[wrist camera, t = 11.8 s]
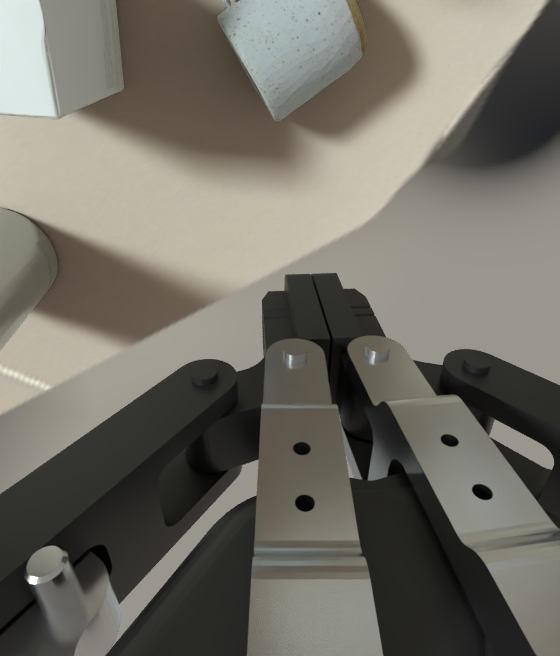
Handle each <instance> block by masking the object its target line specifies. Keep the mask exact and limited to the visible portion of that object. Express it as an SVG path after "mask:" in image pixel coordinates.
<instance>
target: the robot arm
mask: <svg viewBox="0 0 560 656" xmlns="http://www.w3.org/2000/svg"><path fill="white" fill-rule="evenodd" d="M57 269H58V263H57V257H56V253H55V251H54V248H53V246H52V244H51V242H50V241H49V239H48V238H47V236H46V235H45V234H44V233H43V232H42V231H41V229H40V228H39V227H38V226H36V225H35V224H34V223H33V222H31V221H30V220H29V219H27V218H25V217H23V216H22V215H20V214H18V213H16V212H13V211H10V210H7V209H3V208H0V351H1V349H2V348H3V347H4V346H5V344H6V343H7V342H8V341H9V339H10V338H11V337H12V335H13V334H14V333H15V332H16V330H17V329H18V328H19V327H20V325H21V324H22V323H23V322H24V320H25V319H26V318H27V316H28V315H29V314H30V313H31V311H32V310H33V309H34V308H35V306H36V305H37V304H38V303H39V301H40V300H41V299H42V297H43V296H44V295H45V294H46V292H47V291H48V290H49V288H50V287H51V286H52V284H53V283H54V281H55V278H56V275H57ZM262 319H263V320H262V324H263V351H264V358H263V359H262V360H261V361H260V362H259V363H258V364H256V365H255V366H253V367H251V368H249V369H246V370H242V371H238V372H236V371H235V369H234V368H233V367H232V366H231V365H230V364H228V363H226V362H223V361H220V360H215V359H204V360H197V361H193V362H190V363H188V364H186V365H184V366H182V367H181V368H180V369H178V370H177V371H175V372H174V373H173V374H171V375H170V376H168V377H167V378H165V379H164V380H162V381H161V382H160V383H158V384H157V385H155V386H154V387H152V388H151V389H150V390H148V391H147V392H145V393H144V394H142V395H141V396H140V397H138V398H137V399H135V400H134V401H133V402H131V403H130V404H128V405H127V406H125V407H124V408H123V409H121V410H120V411H118V412H117V413H115V414H114V415H113V416H111V417H110V418H108V419H107V420H106V421H104V422H103V423H101V424H100V425H98V426H97V427H96V428H94V429H93V430H91V431H90V432H89V433H87V434H86V435H84V436H83V437H81V438H80V439H78V440H77V441H76V442H74V443H73V444H71V445H70V446H68V447H67V448H66V449H64V450H63V451H61V452H60V453H59V454H57V455H56V456H54V457H53V458H51V459H50V460H49V461H47V462H46V463H44V464H43V465H41V466H40V467H38V468H37V469H36V470H34V471H33V472H31V473H30V474H29V475H27V476H26V477H24V478H23V479H22V480H20V481H19V482H17V483H16V484H14V485H13V486H11V487H10V488H9V489H7V490H6V491H4V492H3V493H1V494H0V656H560V385H558V384H555V383H553V382H551V381H549V380H546V379H544V378H542V377H539V376H537V375H535V374H533V373H531V372H528V371H526V370H524V369H522V368H519V367H517V366H515V365H513V364H510V363H508V362H506V361H503V360H501V359H499V358H497V357H494V356H492V355H490V354H487V353H484V352H481V351H476V350H470V349H460V350H455V351H452V352H450V353H448V354H447V355H446V356H445V358H444V362H443V365H437V364H431V363H424V362H419V361H415V360H412V359H411V357H410V355H409V354H408V353H407V351H406V350H405V348H404V347H403V346H402V345H401V344H400V343H398V342H396V341H394V340H392V339H389V338H386V336H385V334H384V332H383V330H382V328H381V327H380V324H379V322H378V320H377V318H376V316H374V312H373V310H372V308H370V304H369V302H368V300H367V299H366V297H365V296H364V295H363V294H361V293H360V292H358V291H357V290H356V289H343V287H342V285H341V282H340V280H339V278H338V275H337V273H326V274H325V273H322V274H311V275H310V274H291V275H285V291H273V292H270V291H269V292H268V293H267V294H266V296H265V297H264V298H263V300H262ZM339 415H340V417H339ZM340 419H341V421H340ZM495 419H496V420H498V421H500V422H501V423H503V424H505V425H507V426H509V427H511V428H513V429H515V430H517V431H519V432H520V433H522V434H524V435H526V436H528V437H530V438H532V439H533V440H535V441H537V442H539V443H541V444H542V445H544V446H545V447H547V449H548V450H549V451H550V452H551V454H552V455H553V458H554V467H553V469H552V470H550V469H546V468H544V467H542V466H540V465H538V464H536V463H535V462H533V461H531V460H529V459H528V458H526V457H524V456H522V455H520V454H519V453H517V452H515V451H513V450H511V449H510V448H508V447H506V446H504V445H503V444H501V443H499V442H497V441H496V440H494V439H492V438H490V437H489V435H490V432H491V429H492V426H493V422H494V420H495ZM346 457H347V460H348V462H349V465H350V468H351V471H352V474H353V477H354V478H349V473H348V467H347V461H346ZM258 459H259V463H258V482H257V496H254V497H252V498H250V499H247V500H246V501H244V502H242V503H240V504H238V505H237V506H235V507H234V508H233V509H231V510H230V511H229V512H227V513H226V514H225V515H224V516H223V517H222V518H221V519H219V520H218V521H217V522H216V523H215V524H214V525H213V526H212V528H211V529H210V530H209V531H208V532H207V534H206V535H205V536H204V537H203V538H202V540H201V541H200V542H199V543H198V544H197V546H196V547H195V548H194V549H193V551H192V552H191V553H190V554H189V555H188V556H187V558H186V559H185V560H184V561H183V563H182V564H181V565H180V566H179V567H178V569H177V570H176V571H175V572H174V573H173V575H172V576H171V577H170V578H169V579H168V581H167V582H166V583H165V584H164V586H163V587H162V588H161V589H160V590H159V592H158V593H157V594H156V595H155V596H154V598H153V599H152V600H151V601H150V602H149V604H148V605H147V606H146V607H145V608H144V610H143V611H142V612H141V613H140V614H139V616H138V617H137V618H136V619H135V621H134V622H133V623H132V624H131V625H130V627H129V628H128V629H127V630H126V631H125V633H124V634H123V635H122V636H121V638H120V639H119V640H118V641H117V642H116V643H115V645H114V646H113V647H112V645H113V643H114V641H115V639H116V637H117V634H118V632H119V628H120V622H121V612H120V607H119V604H120V603H121V602H122V601H123V599H124V598H125V597H126V596H127V595H128V594H129V593H130V592H131V591H132V590H133V589H134V588H135V587H136V586H137V584H138V583H139V582H140V581H141V580H142V579H143V578H144V577H145V576H146V575H147V574H148V572H150V571H151V569H152V568H153V567H154V566H155V565H156V564H157V563H158V562H159V561H160V560H161V559H162V558H163V556H165V554H166V553H167V552H168V551H169V550H170V549H171V548H172V547H173V546H174V545H175V544H176V543H177V542H178V540H179V539H180V538H181V537H182V536H183V535H184V534H185V533H186V532H187V531H188V530H189V529H190V528H191V526H192V525H193V524H194V523H195V522H196V521H197V520H198V519H199V518H200V517H201V516H202V514H204V513H205V511H206V510H207V509H208V508H209V507H210V506H211V505H212V504H213V503H214V502H215V501H216V500H217V498H218V497H219V496H220V495H221V494H222V493H223V492H224V491H225V490H226V489H227V488H228V487H229V486H230V485H231V484H232V482H233V481H234V480H235V479H236V478H237V477H238V475H239V474H240V472H241V469H242V465H243V464H246V463H249V462H252V461H255V460H258ZM111 647H112V648H111ZM110 648H111V649H110ZM109 650H110V651H109ZM108 651H109V652H108Z"/></svg>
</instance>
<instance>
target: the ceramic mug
mask: <svg viewBox="0 0 560 656" xmlns="http://www.w3.org/2000/svg"><path fill="white" fill-rule="evenodd" d="M223 3H224V6H225V8H226V10H224V11H223V12H221V13H220V14H219V15H218V17H217V21H218V23H219V25H220V27H221V29H222V30H223V32H224V34H225V36H226V38H227V40H228V41H229V43H230V45H231V47H232V49H233V51H234V53H235V54H236V56H237V57H238V59H239V61H240V63H241V65H242V67H243V69H244V70H245V72H246V74H247V76H248V77H249V79H250V81H251V83H252V85H253V86H254V88H255V90H256V91H257V93H258V95H259V96H260V98H261V100H262V102H263V103H264V105H265V107H266V108H267V110H268V111H269V113H270V115H271V116H272V117H273V119H274V120H275V121H277V122H279V121H281V120H282V119H284V118H285V117H286V116H288V115H289V114H290V113H292V112H293V111H294V110H296V109H297V108H298V107H300V106H301V105H303V104H304V103H306V102H307V101H308V100H310V99H311V98H312V97H314V96H315V95H316V94H318V93H319V92H320V91H322V90H323V89H324V88H325V87H327V86H328V85H330V84H331V83H332V82H334V81H335V80H337V79H338V78H340V77H341V76H342V75H344V74H345V73H346V72H348V71H349V70H350V69H351V68H352V67H353V66H354V65H355V64H356V63H357V62H358V61H359V60H360V59H361V57H362V56H363V55H364V53H365V49H366V45H367V34H366V29H365V24H364V21H363V17H362V14H361V12H360V9H359V6H358V3H357V1H356V0H239V1H238V2H236V3H235V4H233V5H232V6H231V4H230V0H223Z"/></svg>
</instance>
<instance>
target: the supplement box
mask: <svg viewBox="0 0 560 656" xmlns="http://www.w3.org/2000/svg"><path fill="white" fill-rule="evenodd" d="M123 89H124V80H123V70H122V59H121V49H120V38H119V28H118V17H117V7H116V0H0V115H11V116H22V117H33V118H45V119H60V118H62V117H63V116H66V115H68V114H70V113H72V112H74V111H76V110H78V109H81V108H83V107H85V106H88V105H90V104H92V103H94V102H97V101H99V100H101V99H103V98H106V97H108V96H110V95H113V94H115V93H117V92H120V91H122V90H123Z"/></svg>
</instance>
